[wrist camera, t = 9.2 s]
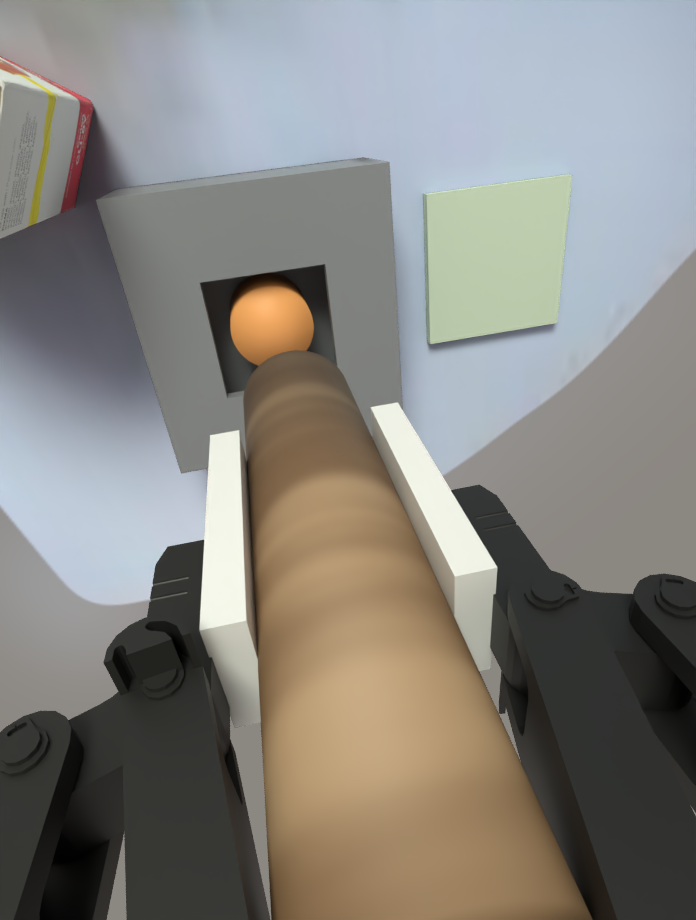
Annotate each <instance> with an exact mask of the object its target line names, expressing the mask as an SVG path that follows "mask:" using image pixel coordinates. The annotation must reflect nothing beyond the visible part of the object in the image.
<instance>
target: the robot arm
mask: <svg viewBox="0 0 696 920" xmlns="http://www.w3.org/2000/svg"><path fill="white" fill-rule="evenodd" d="M370 409H371V420H372V432H373V440H374V442H375V445H376V447H377V449H378V451H379V453H380V456H381V458H382V460H383V462H384V464H385V467H386V469H387V471H388V473H389V475H390V477H391V480H392V482H393V484H394V486H395V488H396V491H397V493H398V495H399V497H400V499H401V501H402V504H403V506H404V508H405V510H406V512H407V515H408V517H409V519H410V521H411V523H412V526H413V528H414V530H415V532H416V534H417V536H418V539H419V541H420V543H421V545H422V547H423V550H424V552H425V554H426V556H427V558H428V561H429V563H430V565H431V567H432V569H433V571H434V574H435V576H436V578H437V580H438V582H439V585H440V587H441V589H442V591H443V593H444V595H445V598H446V600H447V602H448V604H449V606H450V609H451V611H452V613H453V615H454V617H455V620H456V622H457V624H458V626H459V628H460V630H461V633H462V635H463V637H464V639H465V641H466V644H467V646H468V648H469V650H470V652H471V655H472V657H473V659H474V661H475V663H476V665H477V668H478V670H479V672H480V671H484V670H488V669H491V657H492V652H493V654H494V656H495V658H496V660H497V662H498V664H499V666H500V668H501V670H502V672H501V683H500V697H499V713H500V714H502V713H505V709H507V712H508V716H509V720H510V723H511V727H512V731H513V734H514V738H515V742H516V746H517V749H518V753H519V756H520V760H521V764H522V766H523V768H524V770H525V773H526V775H527V777H528V779H529V781H530V783H531V786H532V788H533V790H534V792H535V794H536V797H537V799H538V801H539V803H540V805H541V808H542V810H543V812H544V814H545V816H546V818H547V821H548V823H549V825H550V827H551V829H552V832H553V834H554V836H555V838H556V840H557V843H558V845H559V847H560V849H561V851H562V853H563V856H564V858H565V860H566V862H567V864H568V867H569V869H570V871H571V873H572V875H573V877H574V880H575V882H576V884H577V886H578V888H579V891H580V893H581V895H582V897H583V899H584V902H585V904H586V906H587V908H588V910H589V912H590V915H591V917H592V919H593V920H696V816H695V814H694V812H693V810H692V808H693V809H694V811H695V812H696V582H694V581H691V580H689V579H686V578H684V577H681V576H675V575H669V574H658V575H650V576H648V577H646V578H644V579H642V580H640V581H639V582H638V584H637V586H636V587H635V589H634V592H633V594H620V593H600V592H592V591H586V590H583V589H581V588H580V586H579V585H578V584H577V583H576V582H575V581H573V580H572V579H570V578H569V577H567V576H565V575H563V574H560V573H557V572H554V571H551V570H550V569H549V568H548V566H547V565H546V563H545V562H544V561H543V559H542V558H541V556H540V555H539V554H538V552H537V551H536V549H535V548H534V547H533V545H532V544H531V542H530V541H529V540H528V538H527V537H526V535H525V534H524V533H523V531H522V530H521V529H520V527H519V526H518V525H516V522H515V520H514V519H513V517H512V516H511V515H510V513H508V511H507V509H506V508H505V506H504V505H503V503H502V502H501V501H500V499H499V498H498V497H497V495H495V494H493V493H492V492H490V491H488V490H487V489H485V488H484V487H482V486H480V485H475V486H471V487H465V488H460V489H455V490H450V488H449V487H448V485H447V483H446V482H445V480H444V478H443V477H442V475H441V473H440V472H439V470H438V468H437V467H436V465H435V463H434V462H433V460H432V458H431V457H430V455H429V453H428V452H427V450H426V448H425V447H424V445H423V443H422V442H421V440H420V439H419V437H418V435H417V434H416V432H415V430H414V429H413V427H412V425H411V424H410V422H409V420H408V419H407V417H406V415H405V414H404V412H403V410H402V409H401V407H400V405H399V404H398V402H397V403H391V404H386V405H380V406H374V407H370ZM150 599H151V602H150V603H149V609H148V615H147V618H144V619H142V620H139V621H138V622H135V623H133V624H131V625H129V626H128V627H127V628H126V629H124V630H123V631H122V632H121V633H119V634H118V635H117V636H116V637H115V639H114V640H113V642H112V643H111V644H110V646H109V647H108V649H107V651H106V655H105V659H104V665H105V666H106V668H107V670H108V672H109V674H110V676H111V678H112V680H113V682H114V683H115V685H116V687H117V689H118V691H119V692H118V693H117V694H115V695H114V696H113V697H111V698H110V699H108V700H107V701H105V702H103V703H102V704H100V705H98V706H96V707H94V708H92V709H90V710H88V711H86V712H84V713H82V714H81V715H78V716H76V717H74V718H72V719H70V720H68V719H67V718H66V717H65V716H63V715H61V714H60V713H58V712H56V711H38V712H36V713H32V714H29V715H26V716H23V717H22V718H20V719H18V720H17V721H15V722H13V723H12V724H10V725H8V726H7V727H6V728H4V729H3V730H2V731H1V732H0V920H106V919H107V914H108V909H109V904H110V899H111V894H112V889H113V884H114V879H115V874H116V869H117V864H118V859H119V854H120V850H121V845H122V840H123V834H124V833H125V870H126V909H127V920H270V916H269V911H268V907H267V902H266V897H265V892H264V888H263V883H262V878H261V874H260V869H259V864H258V859H257V854H256V850H255V845H254V840H253V835H252V830H251V825H250V821H249V816H248V811H247V806H246V802H245V797H244V792H243V787H242V782H241V778H240V773H239V768H238V764H237V758H236V754H235V751H234V748H233V745H232V743H231V740H230V716H231V719H232V722H233V725H234V727H235V728H237V727H241V726H246V725H250V724H254V723H259V722H261V716H260V698H259V680H258V652H257V634H256V616H255V598H254V581H253V563H252V545H251V527H250V509H249V491H248V473H247V461H246V457H245V453H244V448H243V444H242V440H241V436H240V431H239V430H237V431H232V432H226V433H220V434H214V435H210V448H209V466H208V484H207V502H206V520H205V538H204V540H200V541H195V542H190V543H185V544H180V545H174V546H169V547H167V549H166V550H165V552H164V553H163V555H162V556H161V558H160V559H159V561H158V562H157V563H156V566H155V572H154V578H153V587H152V591H151V597H150ZM690 805H691V806H690ZM691 807H692V808H691Z"/></svg>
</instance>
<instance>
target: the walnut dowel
mask: <svg viewBox="0 0 696 920" xmlns="http://www.w3.org/2000/svg"><path fill="white" fill-rule="evenodd" d="M243 407H244V425H245V443H246V461H247V473H248V491H249V509H250V527H251V545H252V563H253V581H254V598H255V616H256V634H257V652H258V680H259V698H260V716H261V735H262V753H263V771H264V789H265V807H266V825H267V844H268V862H269V879H270V896H271V897H270V898H271V915H272V920H593V919H592V917H591V915H590V912H589V910H588V908H587V906H586V904H585V902H584V899H583V897H582V895H581V893H580V891H579V888H578V886H577V884H576V882H575V880H574V877H573V875H572V873H571V871H570V869H569V867H568V864H567V862H566V860H565V858H564V856H563V853H562V851H561V849H560V847H559V845H558V843H557V840H556V838H555V836H554V834H553V832H552V829H551V827H550V825H549V823H548V821H547V818H546V816H545V814H544V812H543V810H542V808H541V805H540V803H539V801H538V799H537V797H536V794H535V792H534V790H533V788H532V786H531V783H530V781H529V779H528V777H527V775H526V773H525V770H524V768H523V766H522V764H521V762H520V759H519V757H518V755H517V753H516V751H515V749H514V747H513V744H512V742H511V740H510V738H509V735H508V733H507V731H506V729H505V727H504V724H503V722H502V720H501V718H500V716H499V714H498V711H497V709H496V707H495V705H494V703H493V701H492V698H491V696H490V694H489V692H488V690H487V687H486V685H485V683H484V681H483V679H482V676H481V674H480V672H479V670H478V668H477V665H476V663H475V661H474V659H473V657H472V655H471V652H470V650H469V648H468V646H467V644H466V641H465V639H464V637H463V635H462V633H461V630H460V628H459V626H458V624H457V622H456V620H455V617H454V615H453V613H452V611H451V609H450V606H449V604H448V602H447V600H446V598H445V595H444V593H443V591H442V589H441V587H440V585H439V582H438V580H437V578H436V576H435V574H434V571H433V569H432V567H431V565H430V563H429V561H428V558H427V556H426V554H425V552H424V550H423V547H422V545H421V543H420V541H419V539H418V536H417V534H416V532H415V530H414V528H413V526H412V523H411V521H410V519H409V517H408V515H407V512H406V510H405V508H404V506H403V504H402V501H401V499H400V497H399V495H398V493H397V491H396V488H395V486H394V484H393V482H392V480H391V477H390V475H389V473H388V471H387V469H386V467H385V464H384V462H383V460H382V458H381V456H380V453H379V451H378V449H377V447H376V445H375V442H374V440H373V438H372V436H371V434H370V432H369V429H368V427H367V425H366V423H365V421H364V418H363V416H362V414H361V412H360V410H359V407H358V405H357V403H356V401H355V399H354V397H353V394H352V392H351V390H350V388H349V386H348V383H347V381H346V379H345V377H344V375H343V374H342V372H341V371H340V369H339V368H338V367H337V366H336V365H335V364H334V363H333V362H331V361H330V360H329V359H327V358H325V357H324V356H322V355H319V354H317V353H313V352H309V351H298V350H296V351H287V352H283V353H280V354H277V355H274V356H273V357H271V358H269V359H267V360H266V361H264V362H263V363H262V364H261V365H259V366H258V367H257V368H256V369H255V371H254V372H253V373H252V375H251V376H250V378H249V380H248V382H247V384H246V387H245V390H244V396H243Z"/></svg>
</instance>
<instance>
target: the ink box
mask: <svg viewBox="0 0 696 920" xmlns="http://www.w3.org/2000/svg"><path fill="white" fill-rule="evenodd" d="M92 113H93V104H92V102H91V101H90V100H89V99H87V98H85V97H83V96H81V95H79V94H76V93H75V92H73V91H71V90H69V89H67V88H65V87H63V86H61V85H59V84H57V83H55V82H52V81H50V80H48V79H46V78H44V77H42V76H40V75H38V74H36V73H34V72H32V71H30V70H28V69H26V68H24V67H22V66H20V65H18V64H16V63H14V62H11V61H9V60H7V59H5V58H3V57H1V56H0V239H1V238H3V237H6V236H8V235H10V234H13V233H15V232H18V231H20V230H23V229H25V228H27V227H29V226H31V225H33V224H36V223H39V222H41V221H43V220H46V219H48V218H51V217H53V216H56V215H58V214H59V213H62V212H64V211H67V210H70V209H72V208H74V207H75V206H76V198H77V191H78V186H79V181H80V176H81V172H82V165H83V161H84V156H85V151H86V146H87V140H88V136H89V130H90V124H91V119H92Z"/></svg>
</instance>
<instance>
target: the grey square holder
mask: <svg viewBox="0 0 696 920" xmlns="http://www.w3.org/2000/svg"><path fill="white" fill-rule="evenodd" d="M96 203H97V206H98V209H99V213H100V216H101V219H102V222H103V225H104V229H105V232H106V235H107V238H108V241H109V245H110V248H111V251H112V254H113V257H114V261H115V264H116V267H117V270H118V273H119V277H120V280H121V283H122V286H123V289H124V293H125V296H126V299H127V302H128V305H129V308H130V312H131V315H132V318H133V321H134V324H135V328H136V331H137V334H138V337H139V340H140V344H141V347H142V350H143V353H144V356H145V360H146V363H147V366H148V369H149V372H150V376H151V379H152V382H153V385H154V388H155V392H156V395H157V398H158V401H159V404H160V408H161V411H162V414H163V417H164V420H165V424H166V427H167V430H168V433H169V436H170V439H171V443H172V446H173V449H174V452H175V455H176V459H177V462H178V465H179V468H180V471H181V473H186V472H191V471H197V470H202V469H207V468H208V466H209V448H210V435H214V434H220V433H226V432H232V431H237V430H239V431H240V436H241V440H242V444H243V448H244V453H245V457H246V443H245V425H244V407H243V396H244V390H245V387H246V384H247V382H248V380H249V378H250V376H251V375H252V373H253V372H254V371H255V369H256V368H257V367H258V365H256V364H253V363H252V362H250V361H248V360H247V359H246V358H244V357H243V356H242V355H241V354H240V352H239V351H238V350H237V348H236V346H235V344H234V342H233V340H232V336H231V330H230V303H231V299H232V296H233V294H234V292H235V290H236V289H237V287H238V286H239V285H240V284H241V283H242V282H243V281H244V280H246V279H247V278H249V277H251V276H253V275H256V274H262V273H275V274H279V275H282V276H284V277H286V278H288V279H289V280H291V281H292V282H293V283H294V284H295V285H296V286H297V287H298V288H299V290H300V291H301V293H302V295H303V297H304V299H305V301H306V303H307V306H308V308H309V310H310V312H311V315H312V318H313V323H314V333H313V338H312V341H311V344H310V346H309V348H308V349H307V351H309V352H313V353H317V354H319V355H322V356H324V357H325V358H327V359H329V360H330V361H331V362H333V363H334V364H335V365H336V366H337V367H338V368H339V369H340V371H341V372H342V374H343V375H344V377H345V379H346V381H347V383H348V386H349V388H350V390H351V392H352V394H353V397H354V399H355V401H356V403H357V405H358V407H359V410H360V412H361V414H362V416H363V418H364V421H365V423H366V425H367V427H368V429H369V432H370V434H371V436H372V438H373V432H372V420H371V409H370V407H374V406H380V405H386V404H391V403H397V402H398V404H399V405H400V407H401V409H402V410H403V406H402V387H401V369H400V350H399V332H398V313H397V295H396V276H395V258H394V239H393V220H392V202H391V183H390V165H389V162H386V161H381V160H375V159H369V158H356V159H348V160H341V161H333V162H325V163H317V164H309V165H301V166H294V167H286V168H278V169H270V170H262V171H254V172H246V173H239V174H231V175H223V176H215V177H207V178H199V179H192V180H184V181H176V182H168V183H160V184H152V185H144V186H137V187H129V188H121V189H116V190H114V191H112V192H110V193H108V194H106V195H104V196H102V197H100V198H98V199H96Z"/></svg>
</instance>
